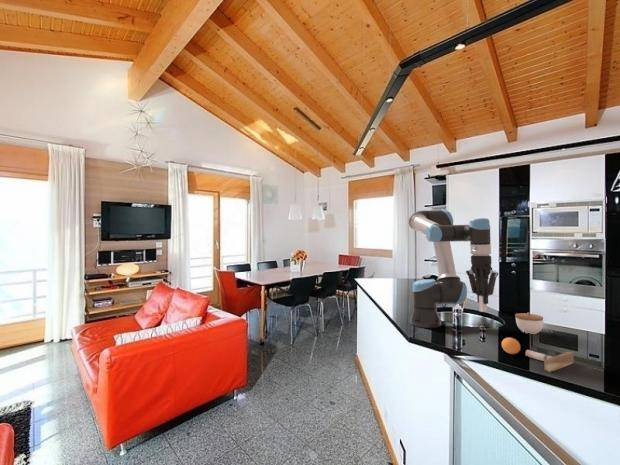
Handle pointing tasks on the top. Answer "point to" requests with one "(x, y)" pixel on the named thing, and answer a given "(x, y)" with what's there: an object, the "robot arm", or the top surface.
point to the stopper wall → (558, 361)
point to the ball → (511, 345)
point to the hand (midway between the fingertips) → (483, 311)
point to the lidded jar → (529, 322)
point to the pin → (537, 355)
